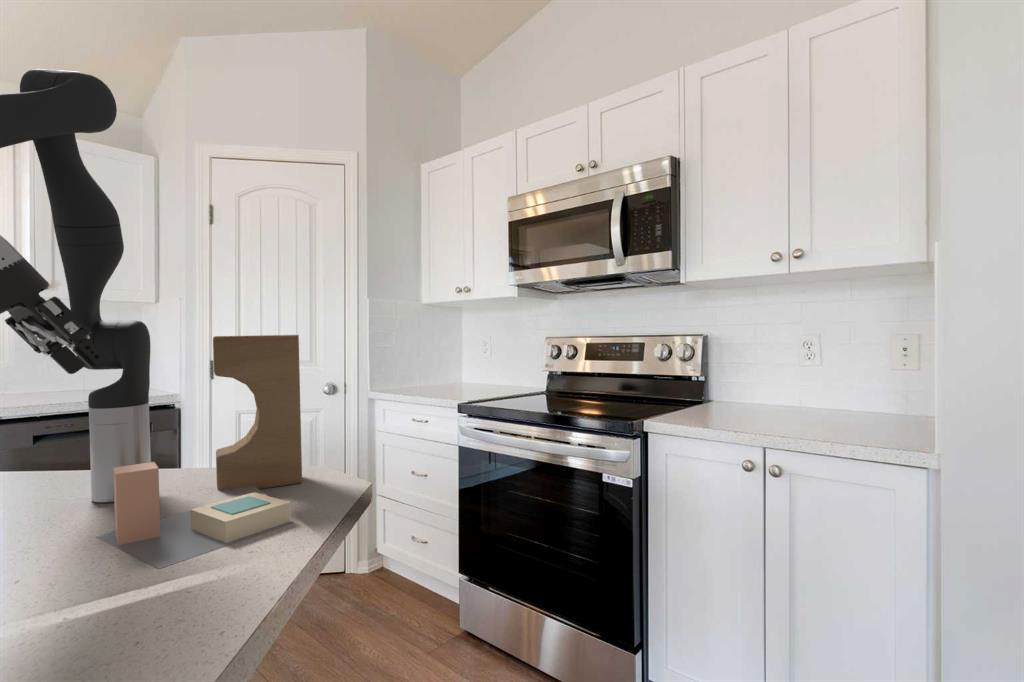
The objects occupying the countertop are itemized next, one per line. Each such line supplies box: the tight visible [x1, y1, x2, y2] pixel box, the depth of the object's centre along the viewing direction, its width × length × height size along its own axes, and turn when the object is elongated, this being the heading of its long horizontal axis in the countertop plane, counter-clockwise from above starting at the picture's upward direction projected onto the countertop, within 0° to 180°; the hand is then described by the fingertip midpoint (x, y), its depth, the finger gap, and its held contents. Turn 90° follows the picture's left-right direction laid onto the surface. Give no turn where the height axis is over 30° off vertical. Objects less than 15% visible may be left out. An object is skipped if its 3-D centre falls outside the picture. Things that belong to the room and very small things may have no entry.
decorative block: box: [212, 334, 303, 491], centre depth 107 cm, size 15×8×30 cm, turn 120°
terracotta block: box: [113, 461, 161, 545], centre depth 78 cm, size 5×5×10 cm
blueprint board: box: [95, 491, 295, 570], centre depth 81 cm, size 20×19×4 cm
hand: (89, 368), depth 76 cm, fingers open, 8 cm apart
